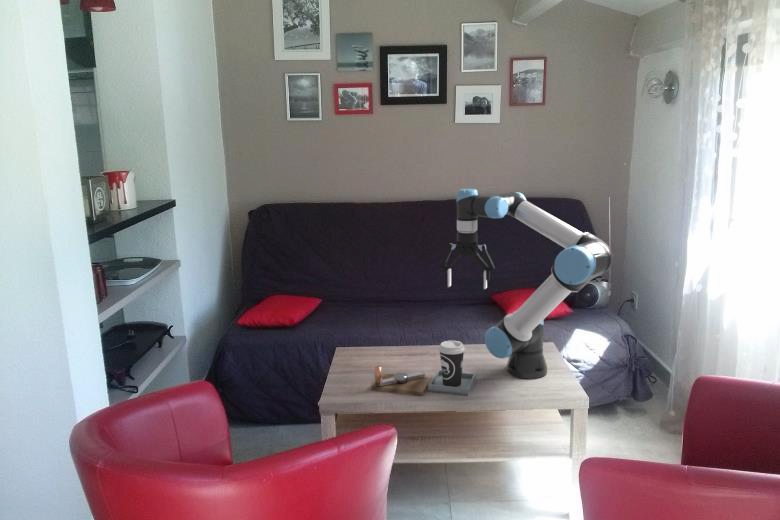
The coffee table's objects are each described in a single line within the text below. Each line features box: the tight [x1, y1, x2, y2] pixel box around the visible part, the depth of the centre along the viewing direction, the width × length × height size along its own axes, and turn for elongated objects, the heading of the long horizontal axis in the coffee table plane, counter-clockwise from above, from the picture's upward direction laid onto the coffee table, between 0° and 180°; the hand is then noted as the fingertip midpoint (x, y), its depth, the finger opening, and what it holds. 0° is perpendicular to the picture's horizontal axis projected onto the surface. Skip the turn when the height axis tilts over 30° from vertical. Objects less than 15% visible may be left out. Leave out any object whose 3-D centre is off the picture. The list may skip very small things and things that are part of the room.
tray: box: [427, 369, 477, 397], centre depth 229 cm, size 14×14×2 cm
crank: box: [374, 364, 426, 386], centre depth 229 cm, size 19×5×7 cm, turn 115°
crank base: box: [371, 372, 433, 397], centre depth 230 cm, size 19×13×2 cm
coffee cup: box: [438, 340, 466, 387], centre depth 227 cm, size 10×10×15 cm
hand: (467, 287), depth 237 cm, fingers open, 13 cm apart
